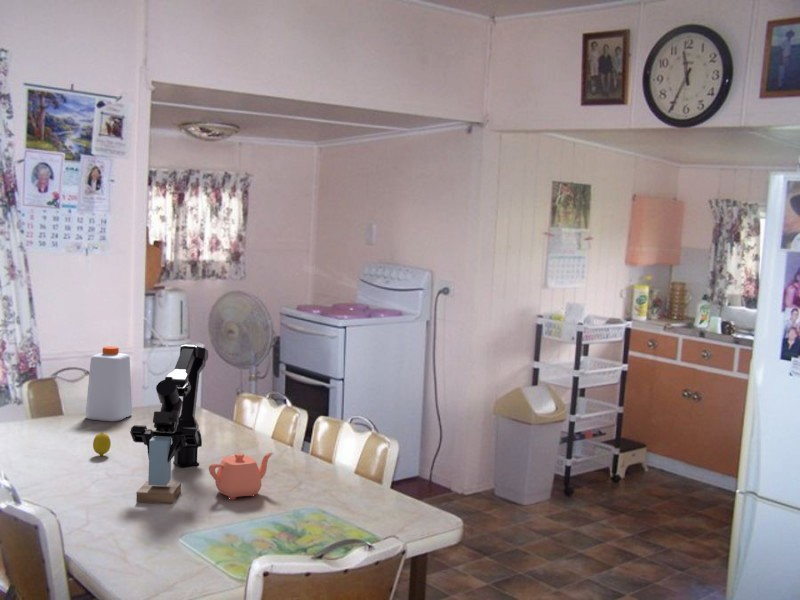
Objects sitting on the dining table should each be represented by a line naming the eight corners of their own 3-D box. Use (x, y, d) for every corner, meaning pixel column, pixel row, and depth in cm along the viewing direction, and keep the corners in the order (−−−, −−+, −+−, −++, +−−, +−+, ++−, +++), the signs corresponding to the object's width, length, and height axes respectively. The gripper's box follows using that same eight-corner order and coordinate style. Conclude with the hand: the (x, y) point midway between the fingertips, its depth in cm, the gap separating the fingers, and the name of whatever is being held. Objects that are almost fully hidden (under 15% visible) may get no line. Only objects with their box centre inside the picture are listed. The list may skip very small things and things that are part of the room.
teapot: (280, 496, 245) (282, 456, 244) (215, 505, 234) (217, 463, 233) (263, 483, 256) (264, 444, 255) (200, 491, 245) (201, 451, 244)
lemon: (104, 458, 272) (105, 435, 271) (89, 457, 273) (89, 433, 272) (113, 454, 277) (114, 431, 277) (98, 452, 279) (99, 429, 278)
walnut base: (146, 491, 243) (146, 481, 242) (180, 492, 243) (180, 482, 243) (136, 502, 233) (136, 492, 232) (172, 504, 233) (172, 493, 233)
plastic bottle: (81, 419, 322) (82, 348, 319) (101, 411, 336) (102, 343, 334) (117, 423, 319) (118, 351, 317) (135, 414, 334) (137, 346, 332)
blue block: (153, 479, 240) (154, 435, 239) (170, 480, 240) (171, 436, 239) (148, 485, 235) (149, 440, 234) (165, 485, 235) (167, 441, 234)
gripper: (132, 397, 239) (119, 445, 229) (197, 400, 239) (187, 448, 230) (140, 418, 248) (128, 464, 238) (202, 421, 248) (193, 467, 238)
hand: (158, 460), depth 235 cm, fingers closed on blue block, 5 cm apart
